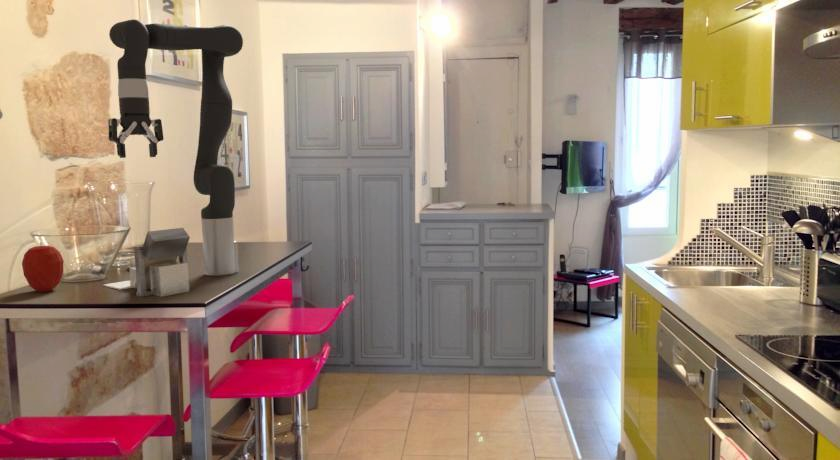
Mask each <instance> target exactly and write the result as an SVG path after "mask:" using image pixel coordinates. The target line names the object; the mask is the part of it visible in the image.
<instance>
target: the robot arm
mask: <svg viewBox="0 0 840 460" xmlns="http://www.w3.org/2000/svg"><path fill="white" fill-rule="evenodd" d="M108 34H109V39H110V41H111V42H112V44H113V45H114V46H116V47H117V48H119V49H122V50H123V55H122V56H120V57H119V59H118V60H117V63H116V64H117V66H116V67H117V79H118V80H117V81H118V85H117V96H118V105H119V115H120V117H119V118H116V117H114V118H112V117H111V118H109V119H108V120H107V122H108V125H107V126H108V141H109V142H113V143H115V144H116V151H117V152H116V154H117V156H118V157H119V158H120V159H126V156H127V154H126V144H125V141H126V140H127V138H129V136H134V135H135V136H143V137H144V138H146V140H147V141H148V142H149V143H148V151H149V158H156V156H158V143H159V142H163V141H164V132H163V131H164V129H163V124H162V119H160V118H155V119H151V118H150V117H151V116H150V114H151V113H150V112H151V111H150V109H151V108H150V98H149V87H148V81H147V69H146V61H147V58H148V57H147V56H148V52H149V49H151V50H159V51H190V50H191V51H192V50H201V64H202V65H201V66H202V67H201V68H202V75H201V77H202V79H201V99H200V108H199V109H200V111H199V112H200V113H199V114H200V115H199V132H198V133H199V134H198V144H197V152H196V159H195V165H194V170H193V186H194V187H195V190H196V191H197V193H199V194H201V195H204V196H209V202H208V204H207V205H206V206H204V207H203V208H201V210H200V217H201V219H200V220H201V221H200V222H201V237H202V250H203V251H202V252H203V265H204V266H203V267H204V275H206V276H209V277H211V276H215V277H216V276H218V277H219V276H229V275H233V274H235V273H239V254H238V253H239V252H238V250H239V249H238V242H237V241H236V240H235V232H234V230H235V229H234V215H233V213H234V209H235V204H236V203H235V202H236V195H235V194H236V187H235V186H236V184H235V176H234V173H233V170H231V168H230V167H229V166H228V165H226V164H218V160H219V159H218V158H219V151H220V148H221V145H222V143H223V141H224V139H225V138H226V135H227V134H228V133H229V132H228V131H229V129H230V127H231V124H232V119H233V116H232V115H233V99H232V95H231V92H230V91H229V87H228V86H227V83H226V80H225V77H224V75H225V74H224V63H225V58H227V57H228V58H229V57H232V56H235V55H237V54H239V53H240V52H241V51H242V49H243V45H244V39H243V36H242V33H241V32H240V31H239V30H238V29H237V28H236V27H235V26H232V25H229V24H222V25H217V26H210V27H203V26H202V27H201V26H200V27H198V26H187V25H186V26H185V25H176V24H166V23H157V22H156V23H149V24H144V22H142V21H141V20H139V19H128V20H124V21H123V20H122V21H119V22H116V23H115V24H113V25H112V26H111V27H110V30H109V33H108ZM119 125H120V126H121V127H122V129H121V130H120V132H119V134H118V127H119ZM151 126H152V127H153V131H152V130H151V129H150V128H151Z"/></svg>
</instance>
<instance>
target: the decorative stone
mask: <svg viewBox="0 0 840 460" xmlns="http://www.w3.org/2000/svg"><path fill="white" fill-rule="evenodd" d="M132 267H135V258H133V259H132V260H130V262H129V269H130V268H132Z"/></svg>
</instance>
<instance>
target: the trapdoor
mask: <svg viewBox="0 0 840 460" xmlns="http://www.w3.org/2000/svg"><path fill="white" fill-rule="evenodd" d="M145 235H146V236H145V239H144V243H143V245H142V246H143V255H144V269H145V283H146V286H151V281H150V267H149V265H155V264H161V263H168V262H175V261H177V259H178V257H179V256H183V255H184V253H185V250H186V247H187V246H188V244H189V241H190V239H191V238H190V235H189V234H188V233H187V230H185V229H184V227H179V228H169V229H160V230H151V231H147V232H146V234H145ZM187 248H188V247H187ZM133 287H134V288H133V289H137V280H136V276H135V279H134V283H133Z"/></svg>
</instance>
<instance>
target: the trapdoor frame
mask: <svg viewBox="0 0 840 460" xmlns="http://www.w3.org/2000/svg"><path fill="white" fill-rule="evenodd" d="M133 250H134V251H133V252H134V259H135V267H136V280H137V288H136V292H135V295H136V297H137V296H138V297H141V298H142V297H147V296H152V295H153V296H157V297H167V296H173V295H178V294H184V293H189V292H190V289H191V288H192V287H191V284H190V279H189V275H190V274H189V262H188V247H186V250H185V253H184V255H183V256H178V260H176V261H175V262H168V263H161V264H155V265H149V267H150V281H151V288H150V289H146V283H145V269H144V255H143V245H136V246H133Z"/></svg>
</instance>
